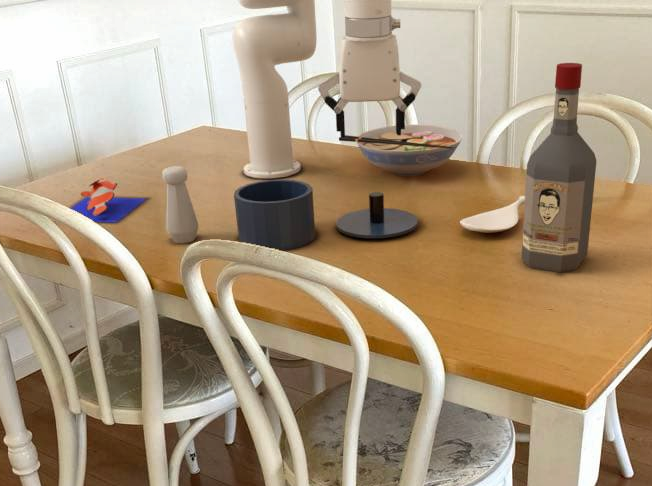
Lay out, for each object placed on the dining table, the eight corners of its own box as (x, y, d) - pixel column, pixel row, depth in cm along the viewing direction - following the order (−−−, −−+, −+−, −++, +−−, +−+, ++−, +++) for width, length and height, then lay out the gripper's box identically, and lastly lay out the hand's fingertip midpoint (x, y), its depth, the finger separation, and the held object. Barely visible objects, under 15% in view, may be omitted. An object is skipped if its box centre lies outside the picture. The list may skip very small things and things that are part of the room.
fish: (90, 173, 179) (128, 174, 178) (94, 196, 182) (132, 197, 180) (59, 193, 168) (101, 193, 167) (65, 216, 171) (105, 217, 169)
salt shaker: (169, 235, 161) (158, 164, 154) (200, 232, 161) (191, 162, 155) (166, 246, 156) (155, 173, 149) (198, 243, 156) (189, 171, 150)
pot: (243, 226, 163) (238, 181, 159) (316, 223, 163) (313, 177, 159) (235, 252, 152) (230, 204, 147) (314, 249, 151) (310, 201, 147)
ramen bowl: (482, 162, 193) (483, 124, 189) (442, 192, 176) (442, 151, 172) (380, 153, 203) (379, 117, 199) (333, 180, 186) (330, 141, 182)
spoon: (591, 198, 168) (593, 180, 167) (490, 245, 149) (491, 225, 148) (551, 190, 174) (553, 172, 172) (449, 234, 155) (449, 215, 153)
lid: (336, 216, 166) (335, 183, 163) (415, 212, 166) (414, 180, 163) (336, 243, 153) (334, 209, 150) (420, 239, 153) (420, 205, 150)
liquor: (536, 247, 147) (549, 58, 132) (590, 255, 143) (610, 61, 128) (516, 266, 141) (527, 69, 125) (572, 275, 136) (591, 72, 121)
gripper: (419, 22, 146) (419, 127, 155) (315, 26, 146) (321, 130, 155) (423, 29, 139) (422, 138, 148) (314, 33, 139) (320, 142, 148)
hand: (370, 134), depth 152 cm, fingers open, 9 cm apart
